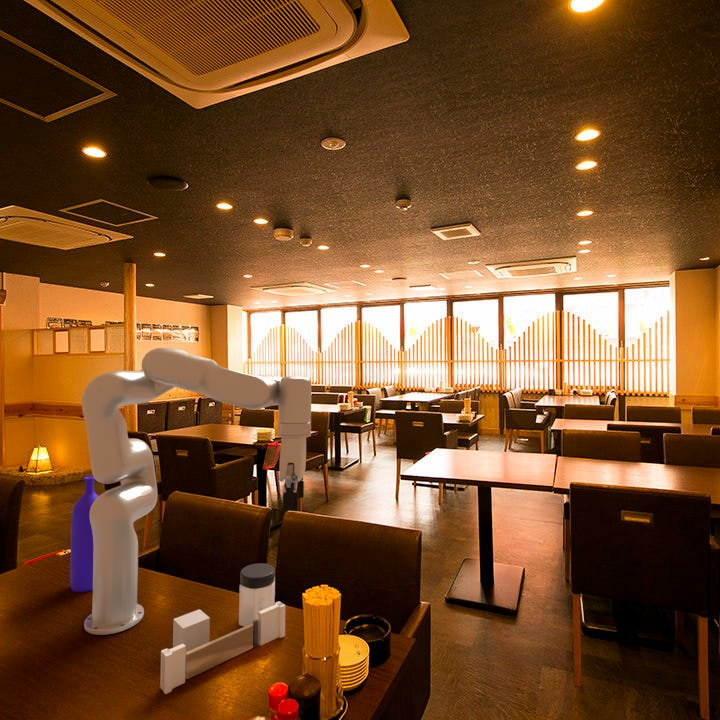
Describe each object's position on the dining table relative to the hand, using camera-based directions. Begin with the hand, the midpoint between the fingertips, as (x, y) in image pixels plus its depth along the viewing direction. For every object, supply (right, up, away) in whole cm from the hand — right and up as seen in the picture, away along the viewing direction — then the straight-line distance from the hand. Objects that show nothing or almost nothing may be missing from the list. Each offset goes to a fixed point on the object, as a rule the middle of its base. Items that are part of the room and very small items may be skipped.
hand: (293, 503), depth 106 cm
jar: (-10, -30, +5) cm, 32 cm away
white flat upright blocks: (-13, -30, -10) cm, 34 cm away
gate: (-13, -29, -11) cm, 34 cm away
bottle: (-60, -30, +21) cm, 71 cm away
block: (-22, -30, -5) cm, 37 cm away
